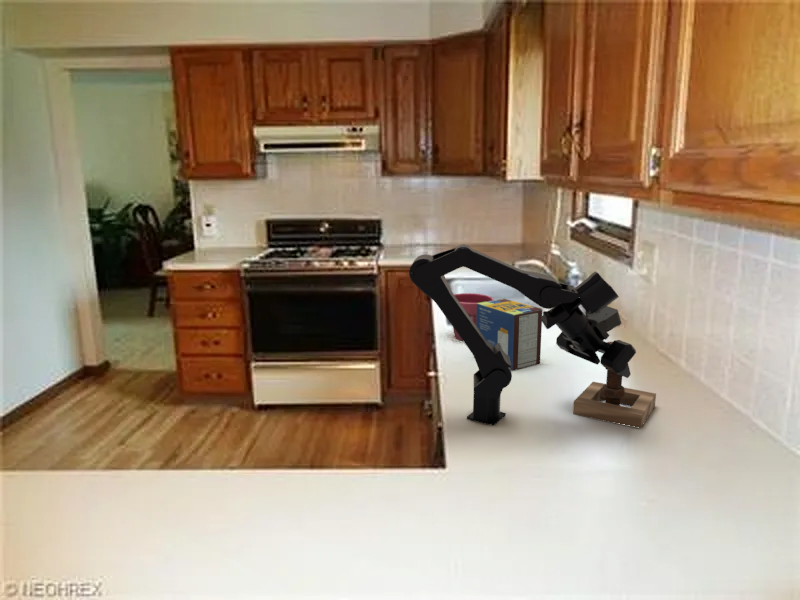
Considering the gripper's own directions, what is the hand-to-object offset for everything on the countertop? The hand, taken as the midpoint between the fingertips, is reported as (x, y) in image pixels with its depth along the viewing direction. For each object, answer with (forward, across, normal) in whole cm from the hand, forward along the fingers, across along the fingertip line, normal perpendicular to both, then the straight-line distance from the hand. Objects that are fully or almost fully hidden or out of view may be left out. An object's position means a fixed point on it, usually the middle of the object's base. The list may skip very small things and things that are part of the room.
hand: (613, 369), depth 131 cm
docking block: (+8, 0, +6) cm, 10 cm away
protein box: (+6, +39, +8) cm, 40 cm away
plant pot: (+7, +62, +7) cm, 63 cm away
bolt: (+8, 0, +6) cm, 10 cm away
